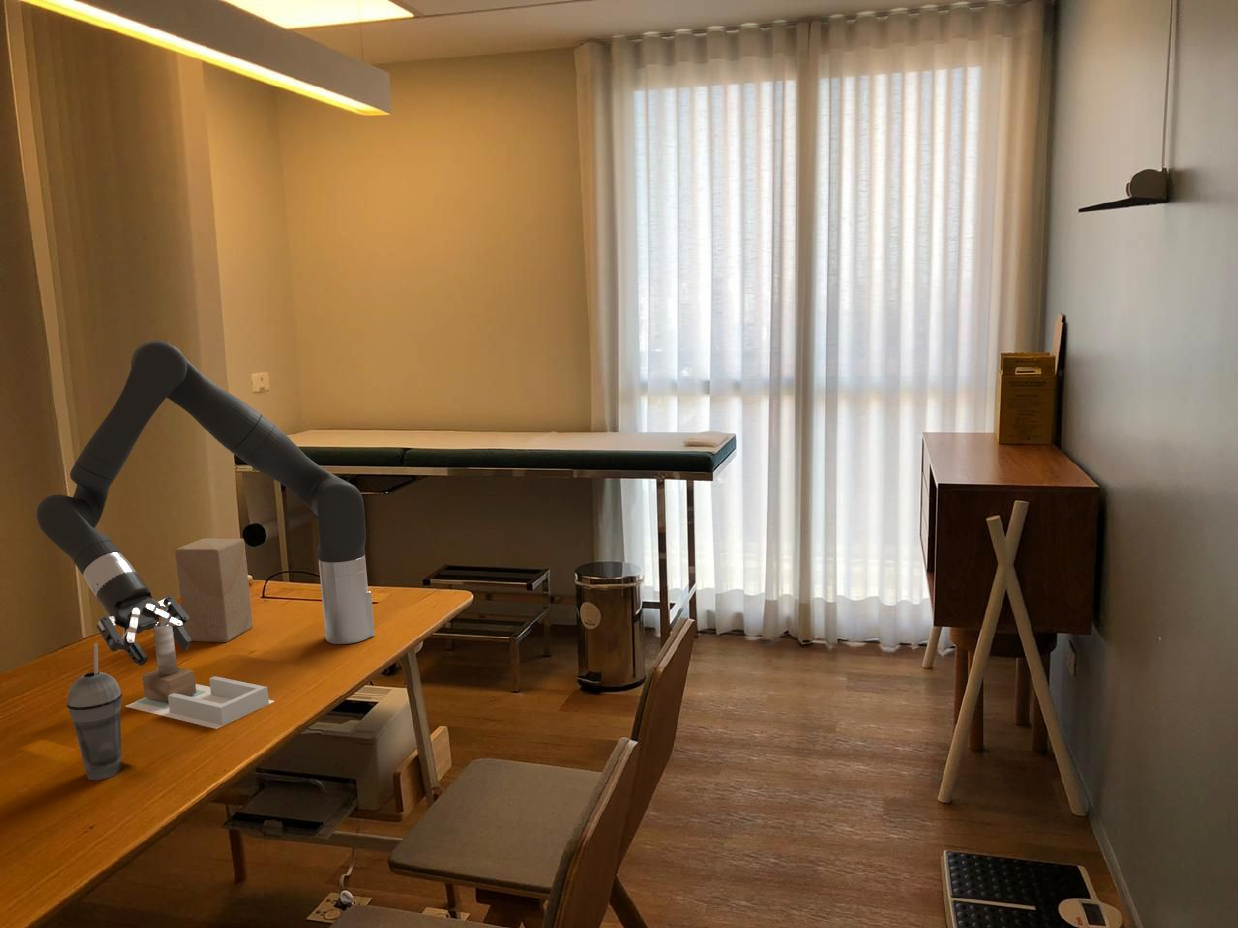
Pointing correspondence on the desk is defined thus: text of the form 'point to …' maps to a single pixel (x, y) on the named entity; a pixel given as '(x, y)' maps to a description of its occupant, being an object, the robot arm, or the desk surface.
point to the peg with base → (167, 670)
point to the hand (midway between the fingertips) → (166, 654)
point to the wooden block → (214, 589)
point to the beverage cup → (97, 721)
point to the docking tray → (210, 703)
